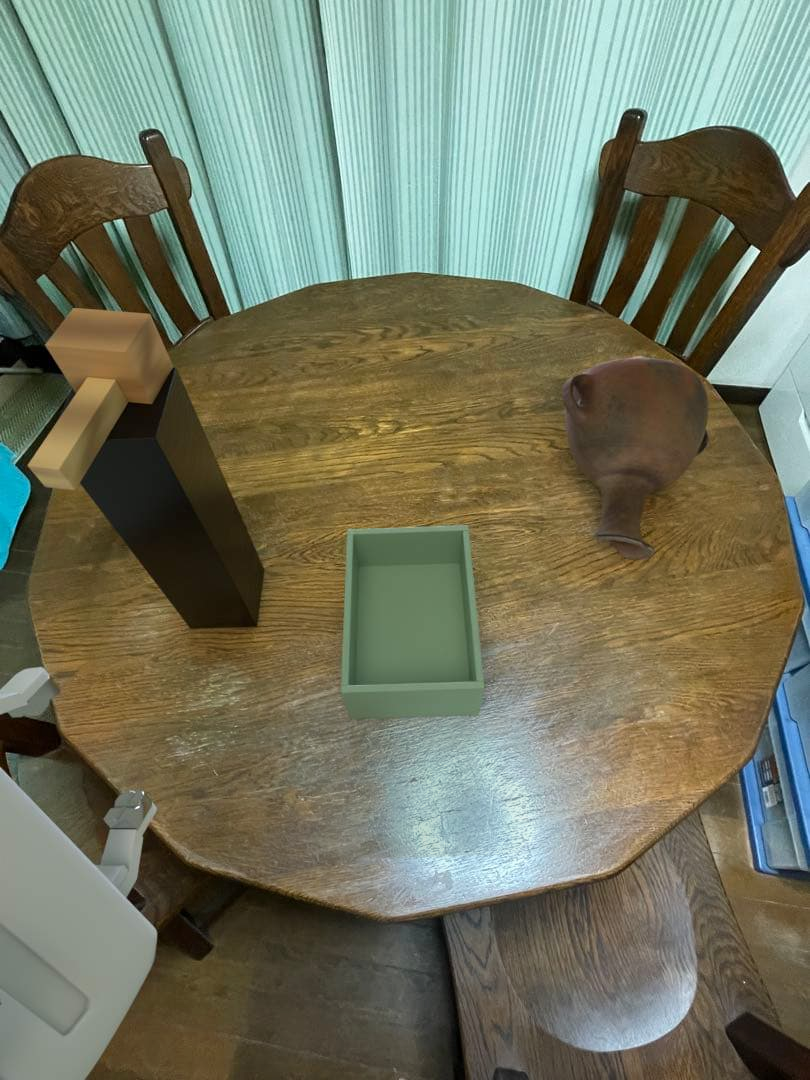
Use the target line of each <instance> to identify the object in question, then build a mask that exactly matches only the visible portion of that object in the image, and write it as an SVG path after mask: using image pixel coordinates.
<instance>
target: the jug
mask: <svg viewBox="0 0 810 1080" xmlns="http://www.w3.org/2000/svg"><path fill="white" fill-rule="evenodd" d="M707 392H708V391H707V388H706V386H705V384H704V383H703V381H702V380H701V378H700V377H699V376H698V375H697V373H695V371H693V370H692V369H690V368H689V367H687V366H685V365H683V364H681V363H678V362H674V361H671V360H668V359H661V358H653V357H652V358H651V357H645V356H642V355H638V356H637V355H636V356H633V357H627V358H617V359H612V360H608V361H604V362H601V363H598V364H596V365H594V366H591V367H589V368H587V369H586V370H584V371H583V372H582V373H579V374H575V375H573V376H572V377H570V378H568V380H566V381H565V382H564V384H563V386H562V391H561V398H562V403H563V405H564V423H565V432H566V439H567V444H568V446H569V449H570V452H571V454H572V457H573V459H574V462H575V464H576V466H577V468H578V469H579V471H580V472H581V474H583V476H584V477H585V478H586V479H587V480H588V481H589V482H591V483H592V484H593V485H595V486H597V487H598V488H599V489H598V490H599V491H598V493H599V495H601V496H602V498H601V499H602V503H601V504H602V505H601V515H600V522H599V524H598V528H597V530H596V531H595V533H594V535H593V538H594V539H595V540H596V541H597V542H599V541H607V542H608V543H609V542H610V543H611V544H612V545H613V546H614V547H615V549H616V550H617V551H618V552H619V554H620V556H622V558H625V559H627V560H630V561H636V560H646V559H651V558H653V556H654V555H655V553H656V552H655V551H654V546H653V545H651V544H649V543H647V542H646V541H645V540H644V538H643V537H642V531H641V521H642V517H643V512H644V507H645V504H646V500H647V499H648V497H649V495H651V494H654V493H658V492H659V491H661V490H664V489H666V488H668V487H669V486H670V485H673V484H674V482H676V481H677V480H678V479H679V478H680V477H681V476H682V475H683V474H684V473H685V472H686V470H687V469H688V468H690V467H689V466H690V465H691V464H692V462H693V461H694V459H695V458H697V457H698V456H700V455H701V454H702V453H703V452H704V451H705V449H706V448H707V446H708V443H709V434H708V430H707V426H708V422H709V398H708V393H707Z"/></svg>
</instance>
